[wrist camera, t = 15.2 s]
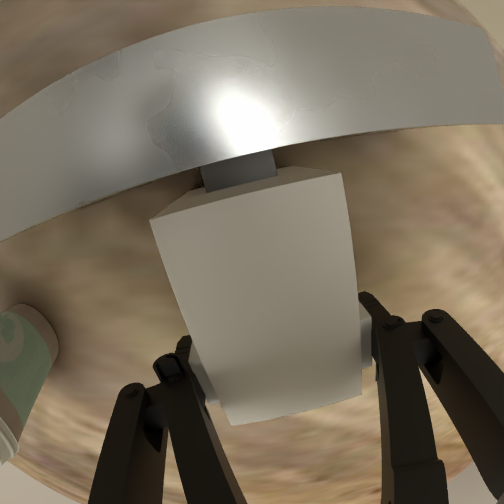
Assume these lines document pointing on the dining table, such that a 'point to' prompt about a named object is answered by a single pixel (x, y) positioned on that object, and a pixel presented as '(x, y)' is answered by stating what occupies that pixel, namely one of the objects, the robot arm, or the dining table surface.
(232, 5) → the dining table surface
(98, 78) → the bar
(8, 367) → the coffee cup
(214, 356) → the plug
